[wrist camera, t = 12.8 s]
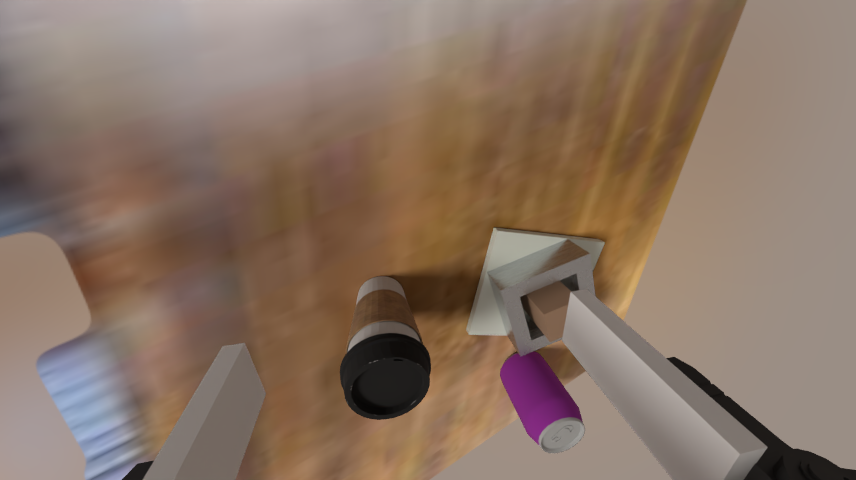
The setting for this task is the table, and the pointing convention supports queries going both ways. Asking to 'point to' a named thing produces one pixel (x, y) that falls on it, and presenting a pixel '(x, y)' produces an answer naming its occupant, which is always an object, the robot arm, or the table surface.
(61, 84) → the table surface
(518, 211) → the table surface
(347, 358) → the coffee cup
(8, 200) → the table surface
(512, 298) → the square frame
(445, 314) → the table surface
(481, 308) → the post board
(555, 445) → the beverage can
